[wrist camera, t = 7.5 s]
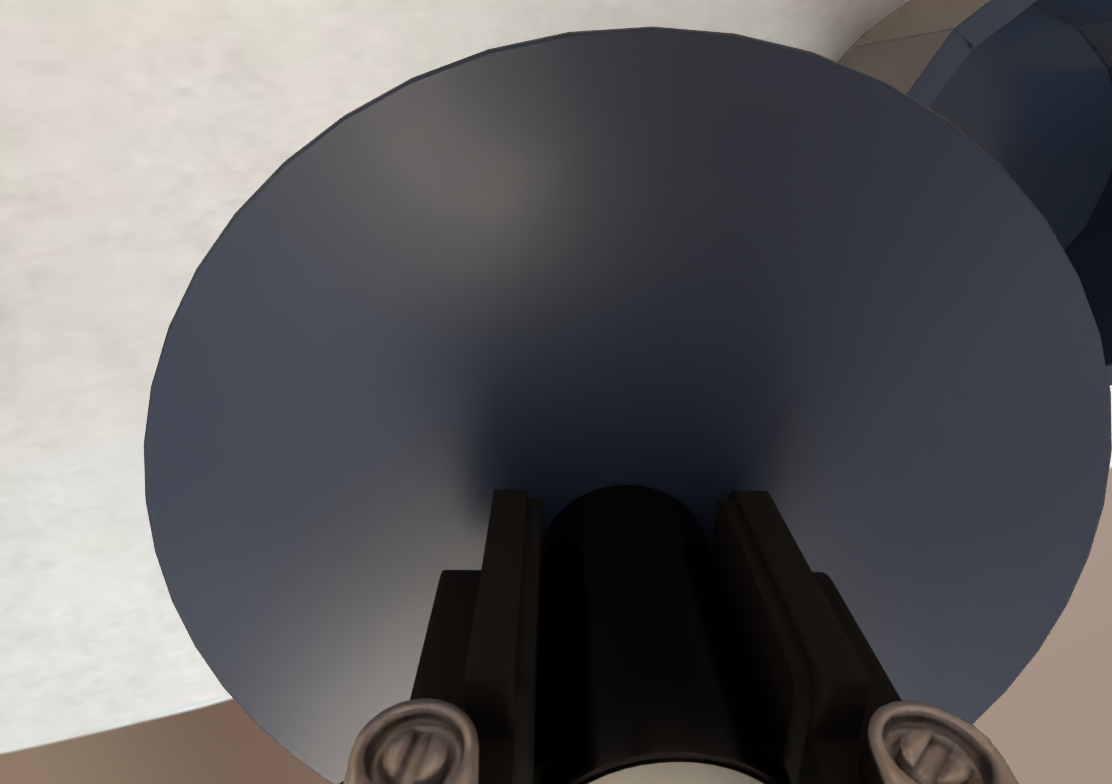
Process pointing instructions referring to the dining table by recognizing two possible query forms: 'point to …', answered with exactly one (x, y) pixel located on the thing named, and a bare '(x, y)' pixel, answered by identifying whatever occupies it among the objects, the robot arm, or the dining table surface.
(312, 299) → the pot lid
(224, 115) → the dining table surface
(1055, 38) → the pot
